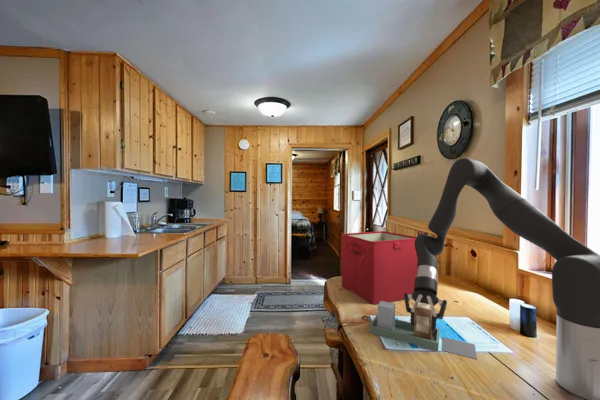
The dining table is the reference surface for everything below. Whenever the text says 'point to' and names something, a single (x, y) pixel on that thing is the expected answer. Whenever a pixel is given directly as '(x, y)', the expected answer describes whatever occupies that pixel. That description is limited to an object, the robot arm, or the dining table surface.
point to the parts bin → (405, 334)
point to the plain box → (386, 315)
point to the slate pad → (459, 348)
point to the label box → (423, 320)
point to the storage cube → (379, 265)
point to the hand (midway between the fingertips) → (422, 327)
